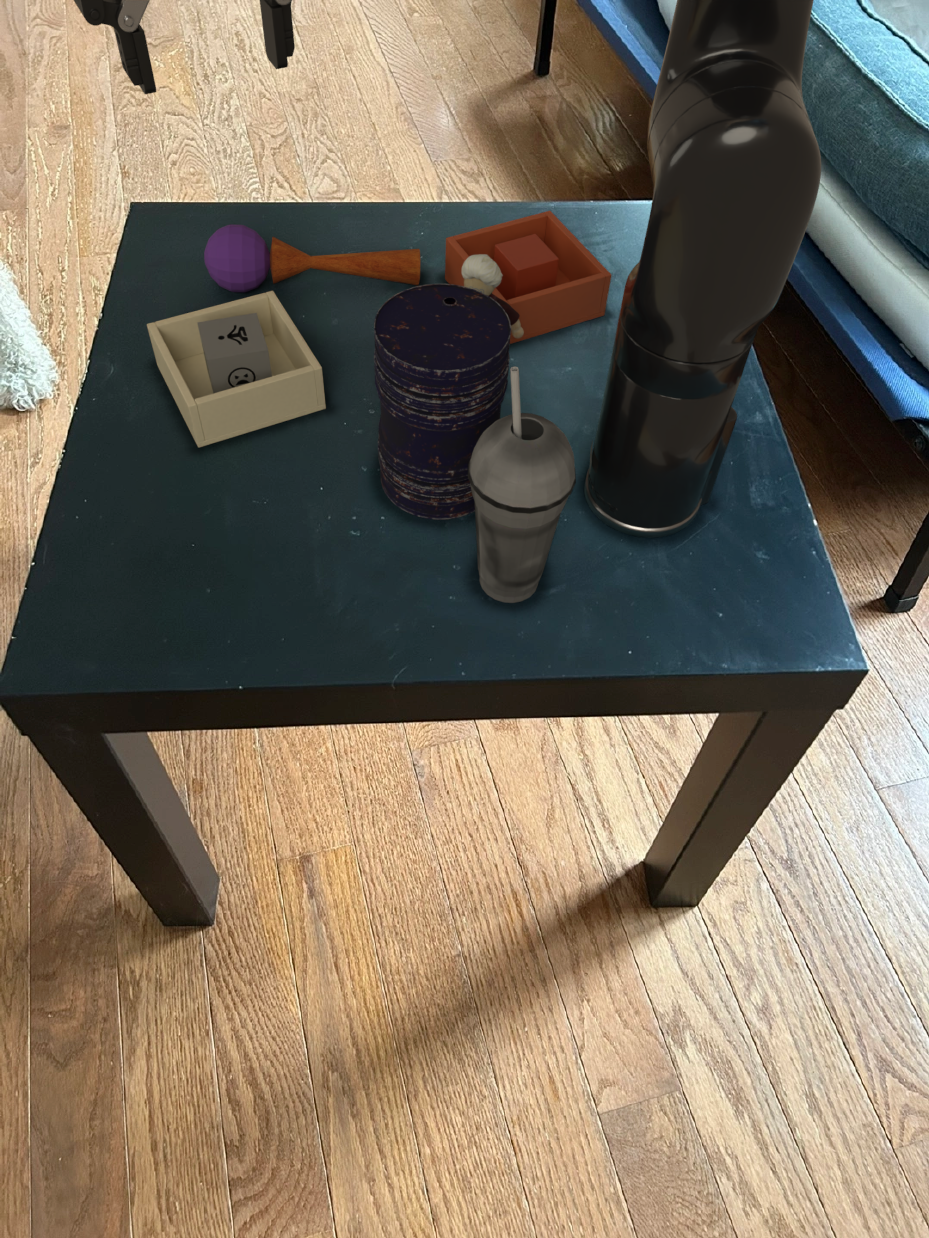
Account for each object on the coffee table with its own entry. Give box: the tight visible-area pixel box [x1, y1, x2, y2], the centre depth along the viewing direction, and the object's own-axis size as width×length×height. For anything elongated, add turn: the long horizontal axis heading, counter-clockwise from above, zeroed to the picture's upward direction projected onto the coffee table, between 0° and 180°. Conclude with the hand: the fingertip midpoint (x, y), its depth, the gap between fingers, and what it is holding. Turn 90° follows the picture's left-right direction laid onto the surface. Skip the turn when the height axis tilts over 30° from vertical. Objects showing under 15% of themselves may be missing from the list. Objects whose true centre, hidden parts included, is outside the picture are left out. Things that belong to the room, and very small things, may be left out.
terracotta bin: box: [444, 210, 613, 345], centre depth 95 cm, size 11×11×4 cm
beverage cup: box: [468, 366, 577, 604], centre depth 68 cm, size 7×7×20 cm
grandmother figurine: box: [462, 254, 524, 339], centre depth 84 cm, size 8×4×13 cm, turn 91°
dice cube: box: [197, 313, 272, 394], centre depth 85 cm, size 5×5×5 cm
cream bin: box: [146, 290, 327, 448], centre depth 86 cm, size 11×11×4 cm
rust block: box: [494, 234, 559, 301], centre depth 94 cm, size 4×4×4 cm
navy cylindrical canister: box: [373, 283, 511, 521], centre depth 76 cm, size 10×10×15 cm
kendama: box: [203, 223, 421, 294], centre depth 94 cm, size 6×6×20 cm
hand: (213, 75), depth 63 cm, fingers open, 8 cm apart
